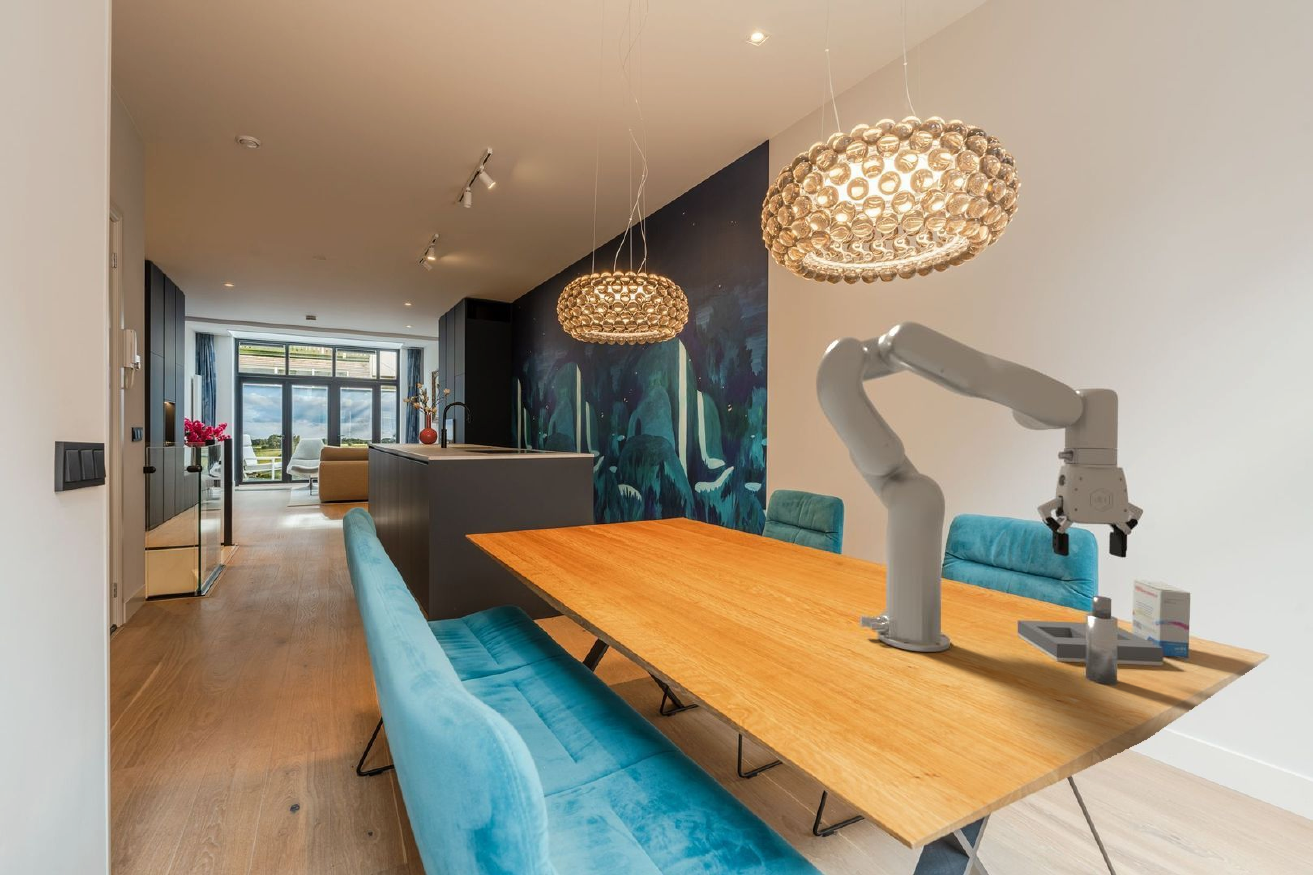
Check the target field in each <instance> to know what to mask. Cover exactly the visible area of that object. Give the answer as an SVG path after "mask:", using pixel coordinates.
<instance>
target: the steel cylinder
mask: <svg viewBox="0 0 1313 875" xmlns="http://www.w3.org/2000/svg"><path fill="white" fill-rule="evenodd" d="M1091 604H1092V605H1091V606H1092V609H1091V610H1092V612H1090V613H1086V615H1085V623H1086V662H1085V678H1086V679H1087V680H1089V681H1090V682H1093V683H1096V684H1101V685H1107V686H1115V685H1117V684H1118V664H1117V632H1118V627H1119V626H1118V622H1119V621H1118V620H1119V619H1118V618H1117V617H1115V616H1113V615H1112V598H1111V597H1110V598H1109V597H1107V596H1103V595H1102V596H1101V595H1100V596H1099V595H1093V596H1092V603H1091Z"/></svg>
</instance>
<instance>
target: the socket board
mask: <svg viewBox="0 0 1313 875" xmlns="http://www.w3.org/2000/svg"><path fill="white" fill-rule="evenodd" d="M1017 637H1019V638H1020V639H1022V640H1023V641H1025V642H1027V644H1030V645H1031V646H1033V647H1034V648H1036V649H1038V650H1039V651H1040V652H1042V653H1044V654H1045V655H1046V656H1048V657H1050V658H1052V659H1053V660H1055V661H1056V662H1071V663H1075V662H1076V663H1086V622H1077V621H1076V622H1070V621H1048V620H1047V621H1046V620H1043V621H1042V620H1017ZM1119 664H1120V665H1142V666H1143V665H1144V666H1164V656H1163V648H1162V647H1160V646H1158V645H1156V644H1154V643H1152V642H1149V641H1147V640H1145V639H1143V638H1141V637H1139V636H1136V635H1134V634H1132V632H1130V631H1128V630H1125V629H1123V628H1122V627H1119V626H1118V632H1117V665H1119Z"/></svg>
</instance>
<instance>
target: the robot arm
mask: <svg viewBox="0 0 1313 875" xmlns="http://www.w3.org/2000/svg"><path fill="white" fill-rule="evenodd" d="M904 371H909V372H910V373H912V374H914V375H917V376H919V377H921V378H922V379H923V378H924V379H925V380H928V381H930V382H931V383H934V384H936V385H938V386H939V387H941V388H943V389H945V390H947V391H950V392H952V393H954V394H957V395H960V396H963V397H968V398H975V399H982V400H986V401H990V402H993V403H996V404H999V405H1001V406H1004V407H1007V408H1009V409H1011V412H1012V417H1013V419H1014V420H1015V421H1016V423H1017V424H1019V426H1021V427H1023V428H1025V429H1029V430H1034V431H1047V430H1048V431H1049V430H1061V429H1064V448H1063V451H1059V452H1058V453H1057V454H1058V455H1057V457H1058V459H1059V460H1063V463H1064V465H1061V466H1060V469H1059V473H1058V477H1057V482H1056V487H1055V488H1056V489H1055V496H1054V497H1055V498H1054V499H1051V500H1050V501H1047V502H1045V503H1043V504H1041V505H1039V506H1038V507H1037V512H1038V514H1039V516H1040V517H1041V518H1042V519H1041V520H1042V522H1043V523H1044V524H1045V526H1046V527H1047V528H1048V529H1049V530H1050V531H1051V532H1052V537H1051V538H1052V539H1051V540H1052V542H1051V543H1052V549H1053V553H1054V554H1055V555H1059V556H1062V557H1068V556H1069V555H1070V554H1069V553H1070V550H1069V549H1070V548H1069V546H1070V535H1069V533H1067V532H1066V531H1067V530H1068V529H1070V527H1071V526H1072V524H1081V525H1108V526H1109V527H1110V528H1111V530H1112V531H1110V532H1109V538H1108V539H1109V542H1108V543H1109V548H1108V549H1109V552H1108V553H1109V554H1110V555H1111V556H1115V557H1119V558H1125V559H1126V557H1127V550H1128V535H1131V533H1132V530H1133V529H1135V527H1136V526H1138V523H1139V520H1140V519H1141V518H1142V515H1143V513H1144V510H1143V509H1142V508H1141V507H1138V506H1137V505H1135V504H1133V503H1132V502H1129V495H1128V493H1129V492H1128V487H1127V486H1128V485H1127V481H1126V476H1125V472H1124V468H1123V467H1118V450H1119V449H1118V438H1119V436H1118V434H1119V432H1118V431H1119V430H1118V429H1119V426H1118V425H1119V395H1118V393H1117V392H1116V390H1114V389H1110V388H1080V389H1074V388H1072V387H1071V386H1069V385H1067V384H1066V383H1064V382H1061V381H1060V380H1057V379H1055V378H1053V377H1051V376H1049V375H1046V374H1044V373H1042V372H1040V371H1038V370H1035V369H1033V368H1030V367H1028V366H1025V365H1022V364H1019V363H1016V362H1013V361H1009V360H1007V359H1004V358H1000V357H998V356H995V355H992V354H988V353H984V352H982V351H980V350H977V349H975V348H973V347H971V346H969V345H967V344H964V343H961V342H960V341H957V340H956V339H953V338H952V337H949V336H947V335H945V334H943V333H941V332H938V331H936V330H934V329H932V328H930V327H928V326H926V325H924V324H921V323H919V322H915V321H904V322H900V323H898V324H897V325H895V326H893V327H892V328H891V329H889V331H888V332H887V333H886V332H885V333H883V334H881V335H877V336H875V337H870V338H868V339H863V340H860V339H857V338H855V337H850V336H844V337H843V336H842V337H840V338H838V339H835V340H834V341H833V342H832V343H830V345H828V347H827V348H826V350H825V352H824V353H823V355H822V358H821V360H820V362H819V365H818V368H817V371H816V378H815V382H816V383H815V386H816V388H815V389H816V396H817V400H818V403H819V407H820V408H821V410H822V412H823V414H824V415H825V417H826V419H827V420H828V422H829V423H830V425H831V426H832V428H833V430H834V431H835V432H836V434H837V436H839V438H840V439H841V441H842V442H843V444H844V445H845V446H846V448H847V449H848V454H849V458H850V460H851V462H852V465H854V467H855V468H856V470H857V471H858V472H859V474H860V475H861V477H862V478H863V479H864V480H865V482H866V483H867V485H868V486H869V488H870V489H871V490H872V491H873V493H874V494H875V495H876V497H877V499H879V500H880V502H881V503H882V505H883V506H884V507H885V508H886V509H887V512H888V513H887V515H888V516H887V528H886V530H887V531H886V545H885V546H886V555H885V556H886V574H885V575H886V576H885V577H886V578H885V579H886V580H885V581H886V583H885V592H886V593H885V610H883V611H882V610H881V611H880V612H881V613H880V615H876V616H875V617H874V616H873V617H871V616H865V615H864V616H863V615H862V616H861V615H860V617H859V625H860V627H861V628H864V627H865V628H869V629H870V630H871V631H873V630H874V631H876V635H877V638H878V639H879V640H880V641H881V642H882V643H884V644H887V645H889V646H892V647H895V648H898V649H901V650H902V649H903V650H905V651H906V650H907V651H911V652H912V651H914V652H922V653H925V652H926V653H927V652H928V653H933V652H935V653H936V652H941V651H945V650H947V649H949V648H950V647H951V638H950V637H949V636H948V635H946V634H945V633H943V632H942V552H943V551H942V543H943V527H944V521H945V520H944V519H945V512H946V511H945V510H946V500H945V495H944V493H943V490H942V489H941V487H940V485H939V483H938V482H936V481H935V480H934V479H933V478H932V477H930V476H928V475H927V474H923V473H920V471H919V470H918V469H917V467H915V465H914V464H913V463H912V461H911V460H910V459H909V458H908V456H907V455H906V453H905V452H906V450H905V446H904V443H903V441H902V439H901V438H900V437H899V435H898V434H897V433H896V432H895V431H894V430H893V428H891V426H890V425H889V424H888V422H887V421H886V420H885V419H884V418H883V416H882V415H881V414H880V413H879V411H878V410H877V408H876V406H875V405H874V404H873V402H872V401H871V400H870V398H869V396H868V395H867V393H866V391H865V388H864V382H867V381H872V380H876V379H880V378H884V377H888V376H891V375H894V374H895V375H896V374H898V373H901V372H904ZM1054 510H1055V512H1054V513H1055V517H1056V518H1054V517H1053V516H1052V511H1054Z"/></svg>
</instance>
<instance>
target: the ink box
mask: <svg viewBox="0 0 1313 875" xmlns="http://www.w3.org/2000/svg"><path fill="white" fill-rule="evenodd" d="M1132 588H1133V591H1132V592H1133V593H1132V594H1133V595H1132V619H1131V620H1132V621H1131V623H1132V624H1131V633H1132V634H1134V635H1136V636H1139V637H1141V638H1143V639H1145V640H1147V641H1149V642H1152V643H1154V644H1156V645H1158V646H1160V647H1162V648H1163V657H1173V658H1187V659H1188V658H1189V655H1190V654H1189V652H1190V651H1189V650H1190V649H1189V647H1190V619H1191V618H1190V614H1191V592H1190V591H1187V590H1184V589H1181V588H1178V587H1176V586H1173V585H1170V584H1167V583H1164V582H1163V581H1153V580H1142V579H1134V580H1133V587H1132Z"/></svg>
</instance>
